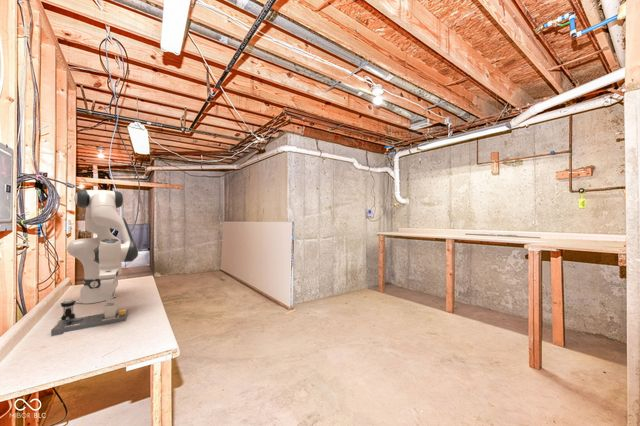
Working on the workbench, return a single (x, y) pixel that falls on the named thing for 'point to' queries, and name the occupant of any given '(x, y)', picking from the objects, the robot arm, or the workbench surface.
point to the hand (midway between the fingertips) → (110, 299)
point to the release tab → (122, 312)
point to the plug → (110, 310)
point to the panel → (86, 322)
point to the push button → (67, 310)
